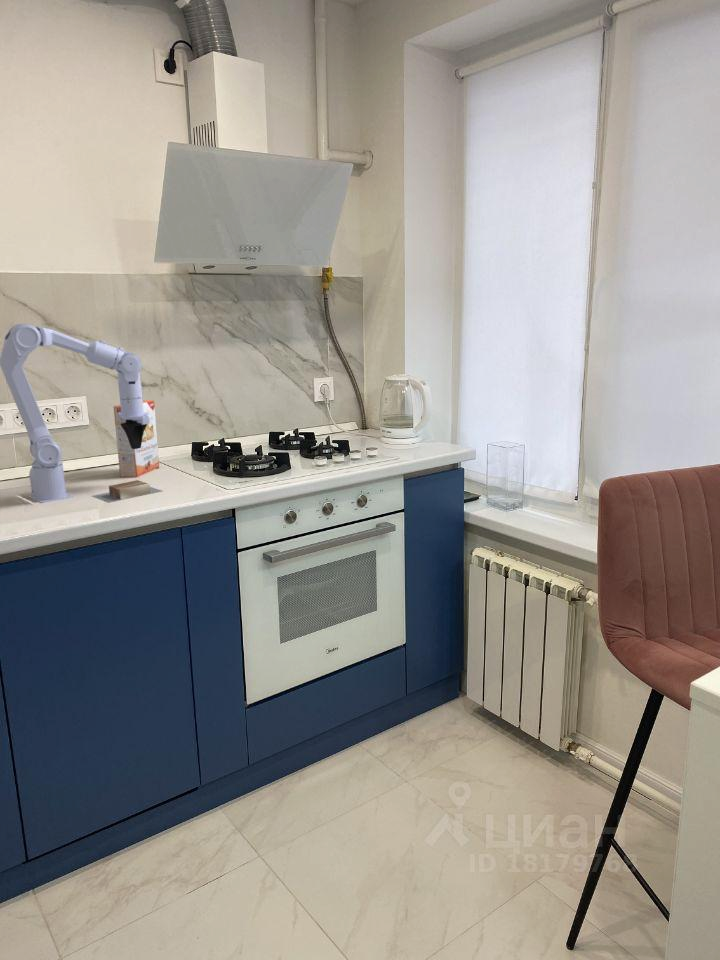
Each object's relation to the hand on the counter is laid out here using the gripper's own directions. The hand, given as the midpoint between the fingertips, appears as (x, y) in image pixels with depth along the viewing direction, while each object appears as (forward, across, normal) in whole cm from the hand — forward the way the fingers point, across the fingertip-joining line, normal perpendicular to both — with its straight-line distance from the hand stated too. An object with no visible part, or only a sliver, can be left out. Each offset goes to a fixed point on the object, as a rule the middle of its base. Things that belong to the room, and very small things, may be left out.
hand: (136, 448), depth 194 cm
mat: (+10, -7, +7) cm, 14 cm away
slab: (+9, -5, +7) cm, 12 cm away
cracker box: (+11, +15, -8) cm, 20 cm away
